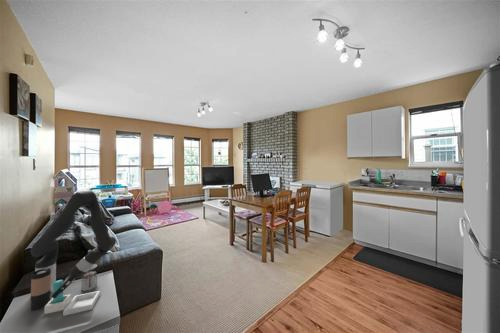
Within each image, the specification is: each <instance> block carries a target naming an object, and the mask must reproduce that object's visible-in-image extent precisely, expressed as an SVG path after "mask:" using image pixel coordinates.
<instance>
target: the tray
mask: <svg viewBox="0 0 500 333" xmlns="http://www.w3.org/2000/svg"><path fill="white" fill-rule="evenodd" d="M100 295H101V290H97V291H91V292H85V293H82V294H77V295H74V296H73V298H71V302H70V303H69V304H68V305H67V307H66V308H65V309H64V310H62V313H63V314H62V315H63V317H65V316H70V315H73V314H77V313H83V312H86V311H90V310H93V308H94V306H95V305H96V303H97V301H98V300H99V297H100Z"/></svg>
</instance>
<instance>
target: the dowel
mask: <svg viewBox="0 0 500 333" xmlns="http://www.w3.org/2000/svg"><path fill="white" fill-rule="evenodd" d="M63 282H64V280H63V279H59V280H56V281H55V282H54V283H53V292H52V295H53V294H54V293H55V292H56V291H57V290H58V288H60V287H61V284H62V283H63ZM61 289H64V288H63V287H62V288H61ZM63 295H64V291H63V292H62V293H60V294H59V295H58V296H57V297H56V298H53V304H54V303H59V302H63Z"/></svg>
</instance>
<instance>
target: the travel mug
mask: <svg viewBox="0 0 500 333" xmlns="http://www.w3.org/2000/svg"><path fill="white" fill-rule="evenodd" d="M30 276H31V277H30V280H31V281H30V309H31V311H38V310H42V309H43V308H45V305H46V304H47V303H48V302H49V301H50V300H51V269H50V268H49V269H47V270H45V269H41V270H38V271H35V270H34V271H33V272H31V275H30Z"/></svg>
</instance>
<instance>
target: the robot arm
mask: <svg viewBox="0 0 500 333" xmlns="http://www.w3.org/2000/svg"><path fill="white" fill-rule="evenodd" d="M82 207H88V208H89V210H90V219H89V225H90V228H91V230H92V232H93V234H94V236H95V241H96V244H97V246H96V247H94V248H93V249H90V250H91V251H90V252H87V254H86V255H85V256H84V257H83V258H81V259H80V260H79V261H78V262H77V263H76V264H75V265H73V266H72V268H71V269H70V270H69V275H67V277H66V278H65V280H63V283H62V284H61V287H60V288H58V290H57V291H56V292H55V293H54V294H53V283H54V282H55V281H57V277H56V276H57V260H58V254H59V242H58V240H57V239H58V238H59V237H61V236H63V235H64V234H66V233H67V232H69V230H70V229H71V227H72V226H73V225H74V223H75V222H76V215H75V214H76V213H77V212H78V210H79V209H81V208H82ZM108 232H109V228H108V225H107V223H106V221H105V219H104V218H103V215H102V211H101V208H100V205H99V200H98V196H97V195H96V193H95V192H94V191H92V190H86V191H78V192H75V193H73V194H72V195H71V197H70V198H69V200H68V201H67V203H66V205H65V206H64V207H63V209H62V211H61V212H60V213H59V215H58V216H57V217H56V218H55V220H54V221H53V222H52V223H51V225H50V226H49V227H48V228H47V230H45V232H44V233H43V234H42V235H41V236H40V237H39V239H37V240H36V241H35V242H34V243H33V244H32V245H31V249H30V255H31V256H32V257H34V258H39V257H41V258H40V259H39V260H37V261H36V262H35V265H34V272H35V271H38V270H41V269H45V270H47V269H49V268H50V269H51V293H52V294H51V293H50V294H51V295H50V298H51V299H52V298H56V297H57V296H58V295H59V294H60V293H62V292H63V293H64V291H65V290H66V289H68V288H69V286H70V285H71V284H73V283H75V280H76V279H82V277H83V276H84V275H85V274H86V273H87V272H89V270H90V269H91V268H92V267H93V265H94V264H96V263H97V262H98V261H99V260H100V259H101V258H103V257H104V255H105V254H107V253H108V252H109V251H110V250H111V249H112V248H114V246H115V245H116V243H117V239H116V237H114V236H110V235H109V233H108ZM90 271H91V270H90ZM62 287H63V289H61V288H62Z"/></svg>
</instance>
